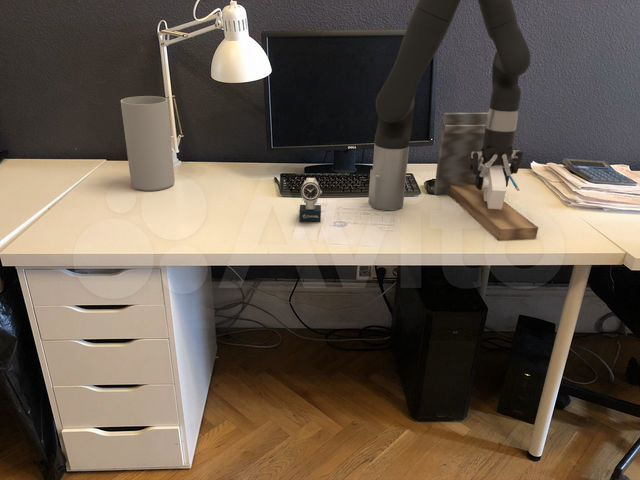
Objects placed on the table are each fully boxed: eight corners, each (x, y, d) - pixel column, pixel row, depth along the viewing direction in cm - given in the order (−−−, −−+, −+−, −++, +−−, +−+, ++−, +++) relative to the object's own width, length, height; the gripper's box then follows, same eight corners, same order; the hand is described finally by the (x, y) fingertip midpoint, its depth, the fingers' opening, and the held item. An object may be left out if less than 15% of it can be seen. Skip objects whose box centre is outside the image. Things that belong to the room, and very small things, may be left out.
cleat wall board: (483, 241, 131) (499, 144, 121) (433, 193, 161) (443, 112, 151) (550, 237, 134) (572, 143, 124) (489, 191, 164) (503, 112, 154)
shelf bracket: (493, 180, 159) (501, 141, 151) (501, 230, 140) (511, 189, 132) (474, 178, 160) (481, 140, 152) (479, 228, 141) (488, 188, 133)
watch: (299, 225, 137) (299, 184, 132) (300, 213, 144) (300, 173, 139) (321, 225, 137) (322, 184, 132) (320, 213, 144) (322, 174, 139)
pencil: (516, 191, 166) (517, 189, 165) (506, 174, 181) (506, 172, 181) (519, 191, 166) (519, 189, 165) (509, 174, 181) (509, 172, 181)
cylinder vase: (122, 188, 158) (110, 101, 147) (149, 175, 168) (139, 94, 158) (158, 194, 154) (148, 106, 143) (183, 181, 164) (176, 98, 154)
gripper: (480, 130, 133) (471, 194, 140) (534, 129, 136) (522, 192, 143) (468, 124, 140) (460, 185, 147) (519, 123, 142) (509, 183, 149)
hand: (490, 188), depth 145 cm, fingers closed on shelf bracket, 6 cm apart
